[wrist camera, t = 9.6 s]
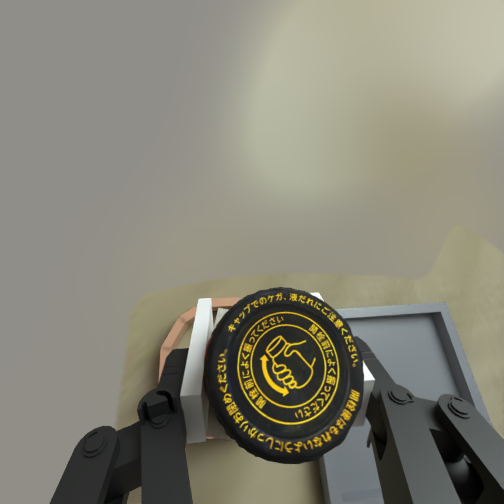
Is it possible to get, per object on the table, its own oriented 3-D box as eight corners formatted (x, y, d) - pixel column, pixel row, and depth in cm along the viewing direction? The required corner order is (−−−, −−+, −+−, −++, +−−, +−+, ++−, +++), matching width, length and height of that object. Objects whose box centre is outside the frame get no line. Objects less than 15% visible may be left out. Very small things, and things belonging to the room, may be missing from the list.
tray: (431, 305, 36) (445, 302, 34) (494, 481, 28) (517, 492, 26) (297, 314, 34) (301, 311, 32) (324, 506, 26) (333, 520, 24)
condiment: (307, 324, 20) (391, 283, 9) (296, 453, 17) (411, 636, 6) (218, 308, 20) (195, 246, 9) (190, 432, 17) (100, 570, 6)
